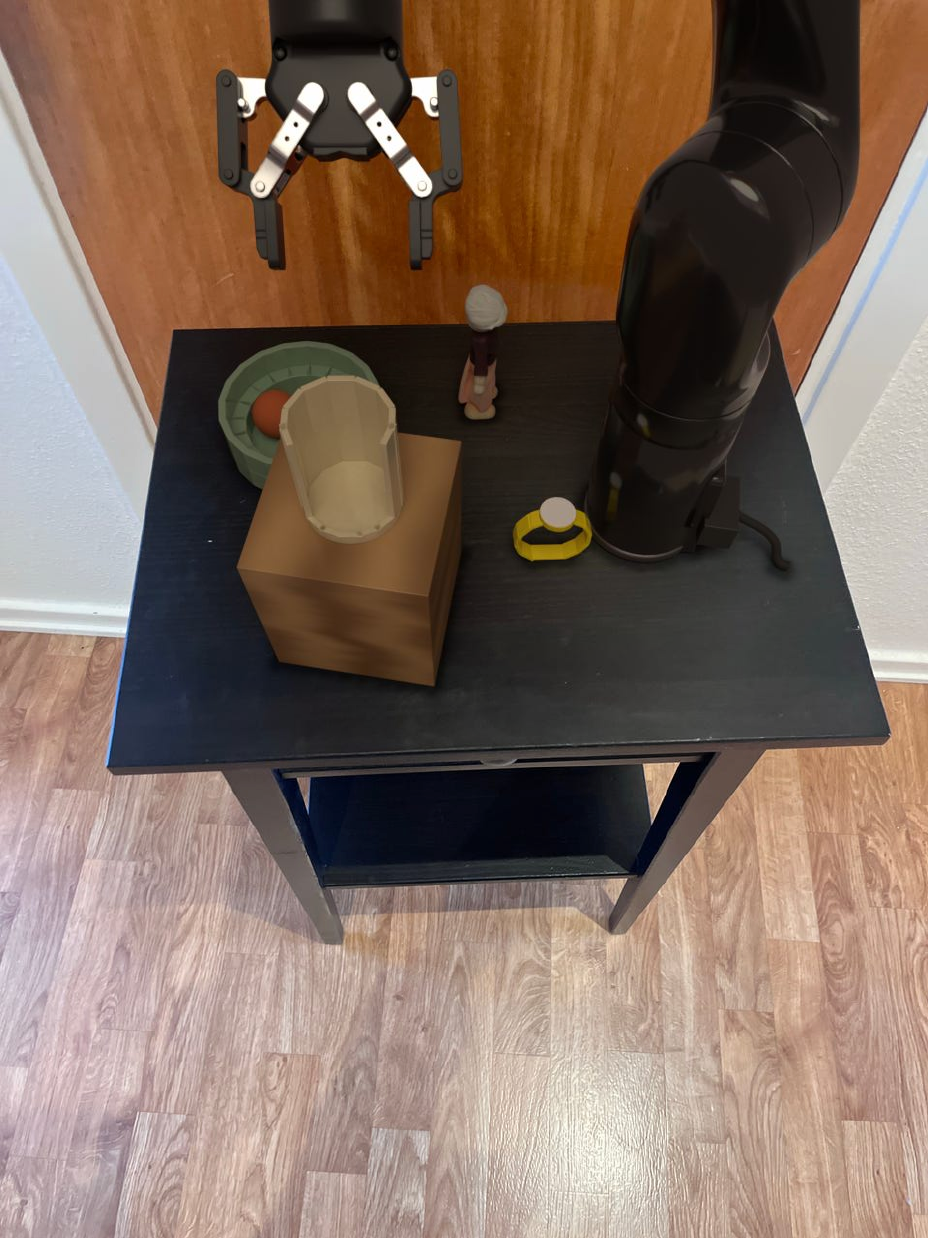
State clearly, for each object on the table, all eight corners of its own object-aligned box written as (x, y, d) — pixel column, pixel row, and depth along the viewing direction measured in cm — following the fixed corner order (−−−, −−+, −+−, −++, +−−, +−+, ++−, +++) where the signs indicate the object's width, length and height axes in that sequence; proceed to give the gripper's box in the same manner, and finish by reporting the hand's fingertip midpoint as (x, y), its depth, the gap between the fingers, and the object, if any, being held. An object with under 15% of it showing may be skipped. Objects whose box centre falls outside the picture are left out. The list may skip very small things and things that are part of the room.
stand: (461, 551, 70) (461, 440, 57) (434, 686, 64) (428, 596, 52) (317, 530, 71) (286, 416, 58) (278, 662, 65) (236, 567, 53)
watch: (513, 571, 69) (518, 530, 64) (510, 541, 70) (514, 499, 65) (587, 565, 69) (598, 524, 64) (582, 536, 70) (592, 494, 65)
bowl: (398, 392, 77) (394, 351, 73) (366, 512, 71) (360, 476, 67) (256, 373, 78) (244, 332, 74) (213, 490, 72) (197, 453, 68)
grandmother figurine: (456, 373, 78) (456, 257, 67) (498, 372, 79) (505, 256, 67) (460, 440, 75) (460, 330, 64) (504, 438, 75) (511, 328, 64)
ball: (289, 375, 72) (313, 408, 75) (249, 383, 73) (273, 415, 76) (279, 411, 70) (303, 443, 73) (238, 419, 71) (263, 451, 74)
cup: (405, 461, 56) (398, 374, 49) (403, 544, 53) (395, 465, 46) (306, 462, 56) (284, 375, 49) (298, 545, 53) (274, 466, 46)
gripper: (185, -76, 44) (214, 264, 49) (462, -77, 44) (463, 263, 49) (223, -17, 51) (245, 274, 56) (461, -18, 51) (463, 273, 56)
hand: (347, 269), depth 53 cm, fingers open, 8 cm apart
